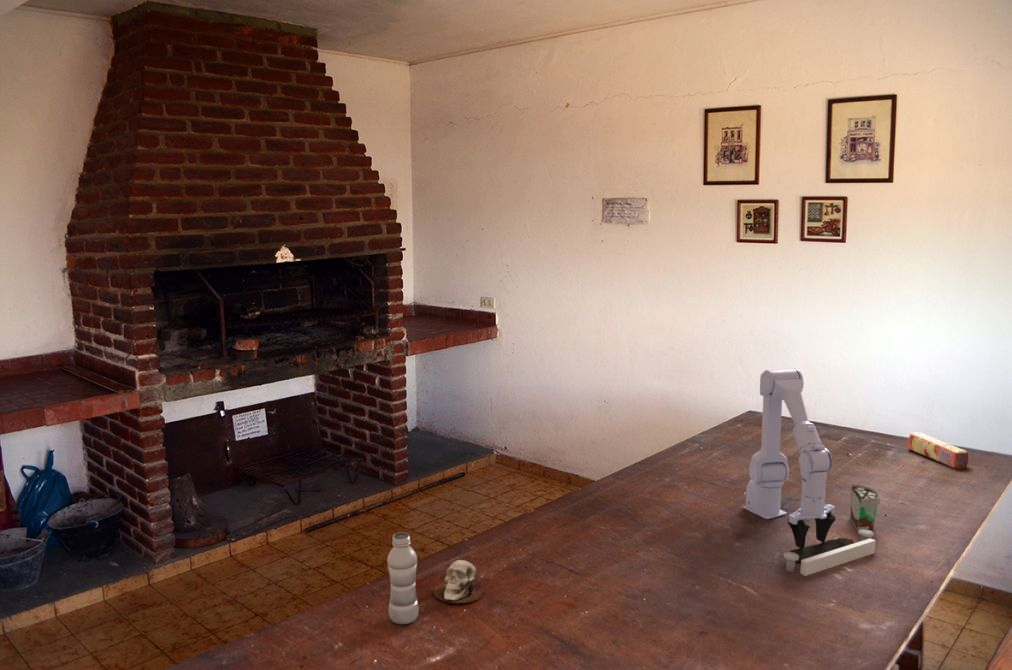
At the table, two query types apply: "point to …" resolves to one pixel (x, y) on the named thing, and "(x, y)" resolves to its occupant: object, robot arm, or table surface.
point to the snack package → (938, 450)
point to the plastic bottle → (402, 580)
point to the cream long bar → (833, 555)
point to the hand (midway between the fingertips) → (810, 543)
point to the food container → (863, 506)
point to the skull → (458, 583)
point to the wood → (821, 548)
